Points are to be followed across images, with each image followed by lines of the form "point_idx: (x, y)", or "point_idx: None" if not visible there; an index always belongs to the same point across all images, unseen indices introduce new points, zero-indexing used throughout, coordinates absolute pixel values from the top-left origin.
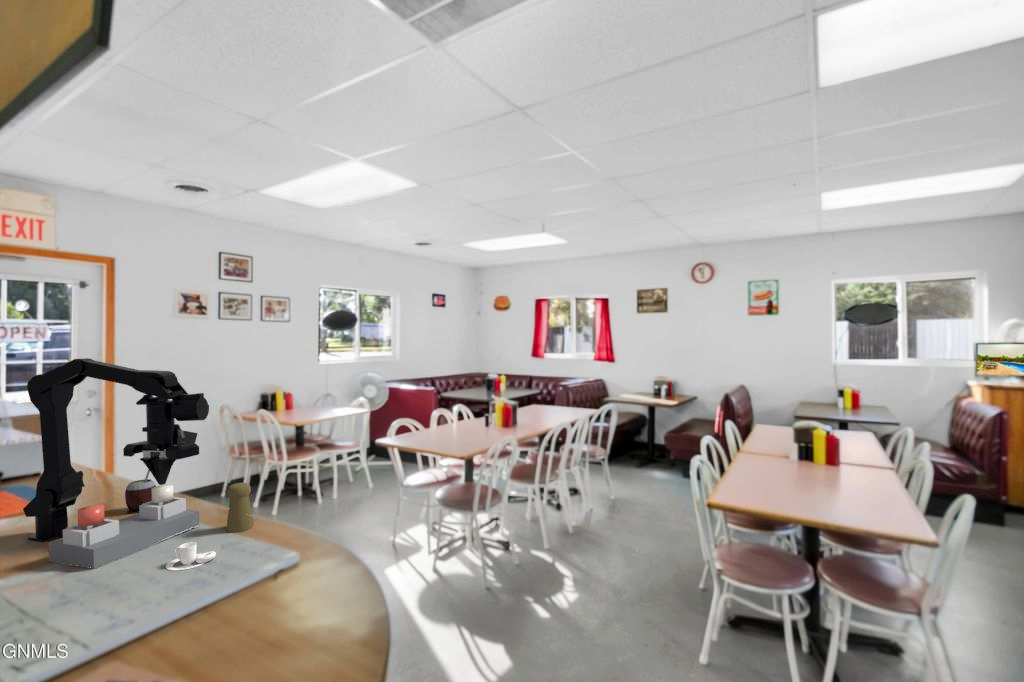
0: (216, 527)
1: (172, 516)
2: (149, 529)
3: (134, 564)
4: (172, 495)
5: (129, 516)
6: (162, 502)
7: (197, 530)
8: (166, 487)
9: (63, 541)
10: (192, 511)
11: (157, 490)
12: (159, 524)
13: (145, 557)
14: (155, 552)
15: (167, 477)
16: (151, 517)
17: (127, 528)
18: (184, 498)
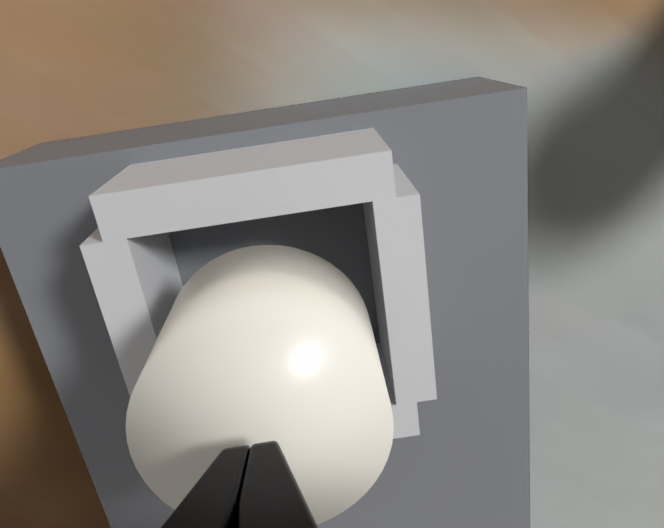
0: (629, 28)
1: (427, 279)
2: (529, 473)
3: (630, 521)
4: (357, 303)
5: (76, 414)
6: (146, 256)
7: (534, 132)
8: (349, 428)
9: None
10: (479, 128)
11: (331, 506)
12: (511, 411)
13: (607, 471)
14: (599, 425)
15: (301, 498)
16: None
17: (369, 523)
18: (382, 160)
